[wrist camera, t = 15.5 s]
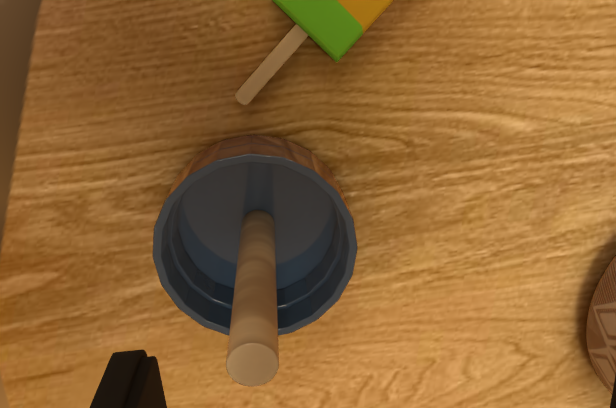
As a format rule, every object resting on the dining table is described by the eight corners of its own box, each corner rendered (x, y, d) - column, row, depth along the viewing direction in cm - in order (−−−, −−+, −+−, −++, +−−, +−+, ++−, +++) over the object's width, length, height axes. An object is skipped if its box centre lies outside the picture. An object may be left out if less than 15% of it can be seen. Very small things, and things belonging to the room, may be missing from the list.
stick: (236, 232, 37) (217, 377, 23) (249, 204, 36) (238, 336, 22) (266, 244, 38) (265, 393, 24) (279, 217, 37) (287, 353, 23)
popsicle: (445, -61, 32) (455, -65, 30) (272, 128, 35) (272, 135, 34) (378, -137, 30) (385, -145, 29) (204, 68, 34) (201, 72, 32)
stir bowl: (141, 260, 38) (124, 298, 33) (208, 102, 34) (199, 119, 30) (299, 320, 40) (303, 362, 36) (376, 178, 37) (392, 205, 32)
